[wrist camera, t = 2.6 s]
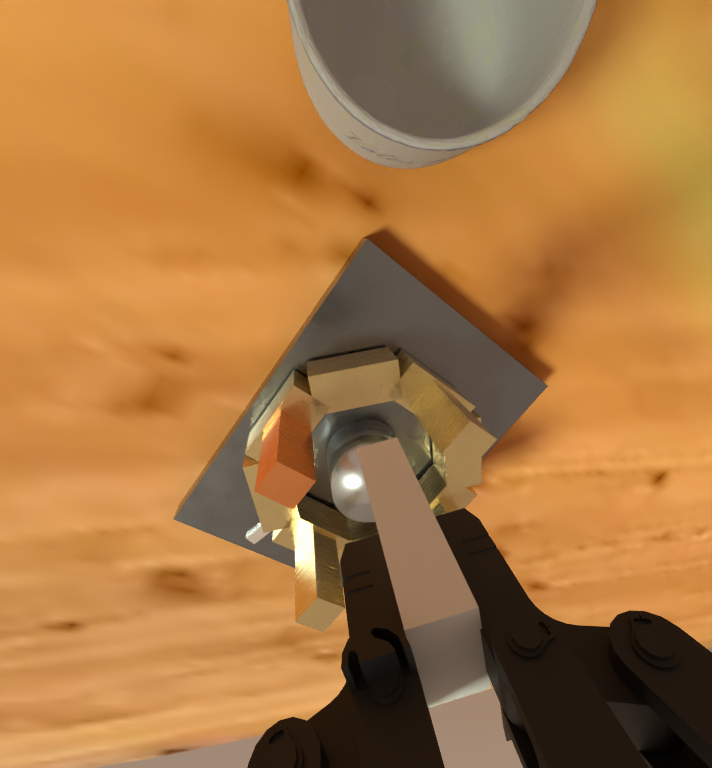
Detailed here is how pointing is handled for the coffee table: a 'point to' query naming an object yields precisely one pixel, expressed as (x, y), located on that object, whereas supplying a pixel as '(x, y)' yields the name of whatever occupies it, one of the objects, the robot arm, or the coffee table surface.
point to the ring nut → (297, 470)
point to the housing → (369, 423)
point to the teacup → (431, 69)
